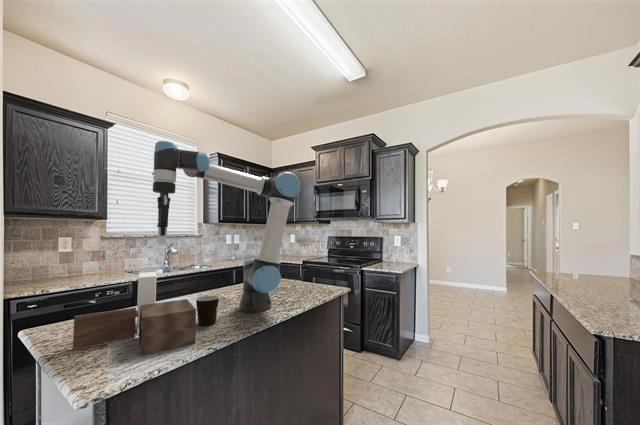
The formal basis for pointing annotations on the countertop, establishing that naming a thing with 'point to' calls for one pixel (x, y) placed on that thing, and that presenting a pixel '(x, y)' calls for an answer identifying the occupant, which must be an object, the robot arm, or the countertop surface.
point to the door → (104, 327)
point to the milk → (146, 288)
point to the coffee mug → (207, 310)
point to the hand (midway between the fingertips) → (161, 244)
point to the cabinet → (166, 326)
